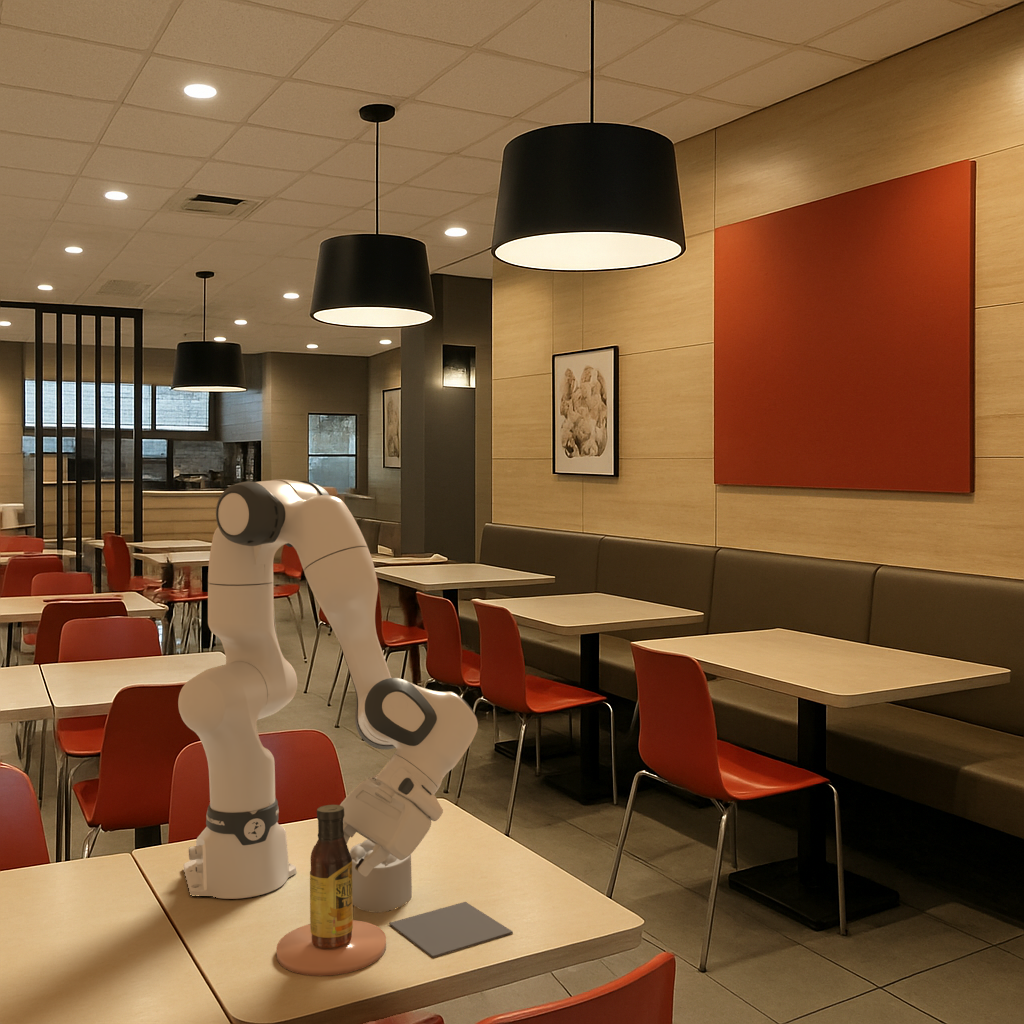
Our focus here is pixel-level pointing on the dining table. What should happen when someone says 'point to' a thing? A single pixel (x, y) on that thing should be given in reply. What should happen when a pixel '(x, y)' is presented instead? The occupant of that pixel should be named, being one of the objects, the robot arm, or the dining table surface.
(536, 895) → the dining table surface
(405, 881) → the lumpy-topped squat cylinder
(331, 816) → the sauce bottle
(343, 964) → the terracotta plate
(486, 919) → the rubber mat
